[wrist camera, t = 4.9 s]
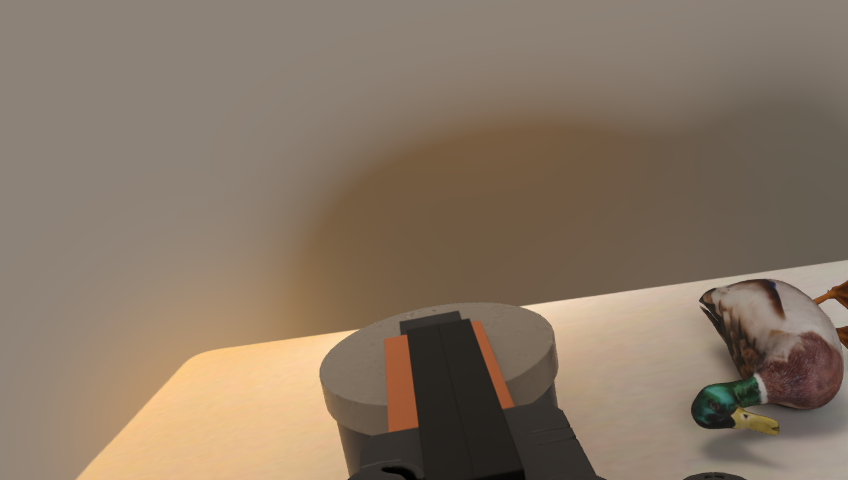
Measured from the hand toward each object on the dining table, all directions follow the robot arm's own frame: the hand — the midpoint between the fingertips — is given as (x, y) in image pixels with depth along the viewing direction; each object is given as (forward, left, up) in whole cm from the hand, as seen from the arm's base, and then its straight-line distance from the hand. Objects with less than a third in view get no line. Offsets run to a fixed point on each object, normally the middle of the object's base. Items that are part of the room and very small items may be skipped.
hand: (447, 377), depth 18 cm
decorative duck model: (-34, -13, -20) cm, 41 cm away
